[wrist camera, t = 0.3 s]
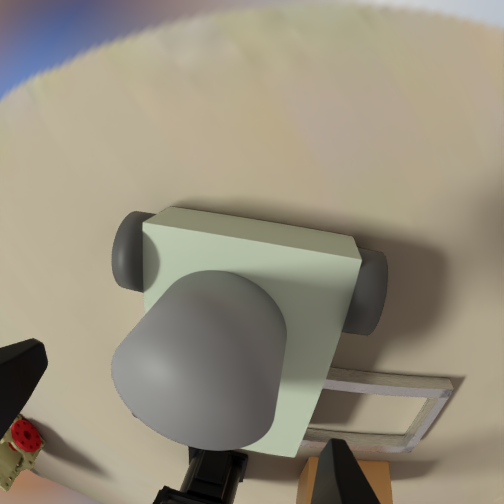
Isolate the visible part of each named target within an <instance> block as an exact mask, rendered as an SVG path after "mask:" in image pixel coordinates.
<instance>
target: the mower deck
mask: <svg viewBox="0 0 504 504" xmlns="http://www.w3.org/2000/svg"><path fill="white" fill-rule="evenodd" d="M112 271H113V275H114V278H115V280H116V282H117V284H118V285H119V286H121V287H123V288H126V289H130V290H134V291H138V292H142V293H144V310H145V316H144V317H143V318H142V319H141V320H140V321H139V323H138V324H137V325H136V326H135V327H134V328H133V330H132V331H131V332H130V333H129V334H128V335H127V337H126V338H125V339H124V340H123V341H122V343H121V344H120V345H119V346H118V348H117V349H116V351H115V353H114V355H113V358H112V363H111V372H112V378H113V382H114V385H115V387H116V390H117V392H118V394H119V395H120V397H121V399H122V400H123V402H124V403H125V405H126V406H127V407H128V408H129V409H130V411H131V412H132V414H133V416H134V417H136V418H138V419H139V420H141V421H142V422H143V423H144V424H146V425H147V426H148V427H150V428H151V429H153V430H154V431H156V432H157V433H159V434H161V435H162V436H164V437H167V438H169V439H171V440H173V441H175V442H178V443H180V444H184V445H187V446H190V447H194V448H199V449H205V450H215V451H224V450H234V449H239V448H240V449H245V450H250V451H256V452H261V453H267V454H273V455H279V456H286V457H293V458H295V455H296V453H297V451H298V448H299V446H300V444H301V441H302V439H303V437H304V434H305V432H306V429H307V427H308V424H309V422H310V419H311V417H312V414H313V412H314V409H315V406H316V404H317V401H318V399H319V396H320V393H321V391H322V388H323V385H324V382H325V380H326V377H327V374H328V371H329V368H330V365H331V362H332V359H333V356H334V353H335V350H336V347H337V344H338V341H339V338H340V335H341V332H346V333H353V334H360V335H367V336H368V335H370V334H371V333H372V332H373V331H374V329H375V327H376V326H377V324H378V321H379V319H380V316H381V313H382V310H383V306H384V302H385V297H386V291H387V282H388V267H387V260H386V257H385V255H384V253H382V252H378V251H373V250H367V249H362V248H357V246H356V243H355V241H354V238H353V236H348V235H342V234H337V233H332V232H326V231H320V230H315V229H309V228H303V227H298V226H292V225H286V224H280V223H274V222H268V221H262V220H256V219H250V218H243V217H237V216H231V215H224V214H218V213H211V212H205V211H198V210H191V209H184V208H177V207H169V208H167V209H165V210H164V211H162V212H160V213H158V214H152V213H146V212H139V211H134V212H131V213H130V214H129V215H127V216H126V217H125V219H124V220H123V221H122V223H121V225H120V226H119V229H118V231H117V233H116V236H115V240H114V244H113V249H112Z"/></svg>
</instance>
